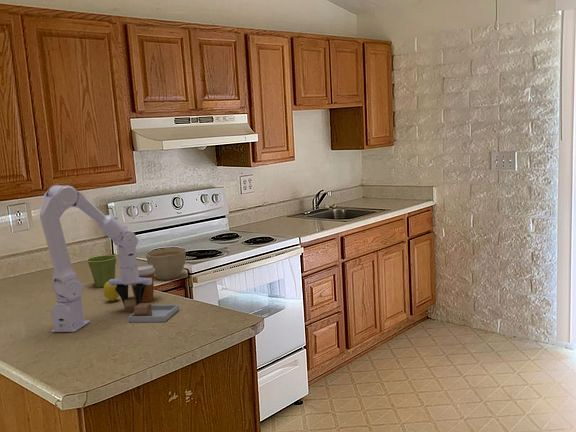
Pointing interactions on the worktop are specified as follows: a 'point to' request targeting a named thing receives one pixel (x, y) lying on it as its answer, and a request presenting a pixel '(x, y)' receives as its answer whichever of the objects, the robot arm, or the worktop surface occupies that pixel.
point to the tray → (156, 314)
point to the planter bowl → (167, 262)
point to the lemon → (110, 291)
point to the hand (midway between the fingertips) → (133, 305)
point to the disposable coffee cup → (146, 272)
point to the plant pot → (102, 268)
